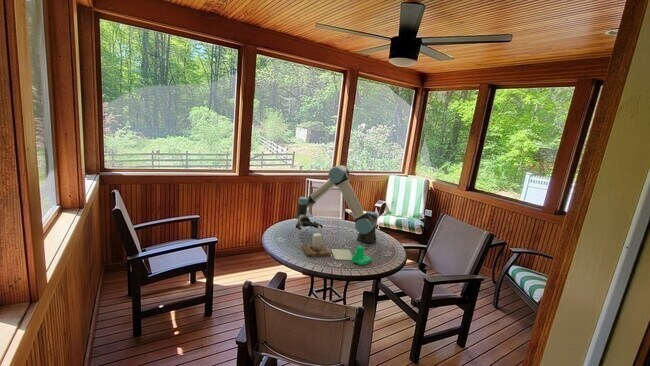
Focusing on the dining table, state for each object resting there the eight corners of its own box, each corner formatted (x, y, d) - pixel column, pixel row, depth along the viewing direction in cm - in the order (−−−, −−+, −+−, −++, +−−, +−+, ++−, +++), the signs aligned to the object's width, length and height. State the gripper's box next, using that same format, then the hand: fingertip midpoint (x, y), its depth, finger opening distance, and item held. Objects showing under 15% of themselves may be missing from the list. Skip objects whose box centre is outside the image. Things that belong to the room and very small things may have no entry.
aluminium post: (317, 249, 209) (319, 233, 206) (320, 252, 204) (322, 236, 202) (310, 250, 207) (312, 233, 205) (313, 253, 202) (315, 236, 200)
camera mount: (360, 266, 190) (362, 251, 188) (351, 262, 195) (353, 247, 194) (371, 262, 199) (373, 247, 197) (362, 257, 204) (364, 243, 202)
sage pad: (349, 250, 213) (349, 249, 213) (354, 260, 198) (354, 259, 198) (331, 249, 211) (331, 249, 211) (335, 259, 196) (335, 259, 196)
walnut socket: (322, 246, 215) (323, 243, 215) (330, 256, 201) (330, 253, 200) (301, 246, 210) (301, 244, 210) (307, 256, 195) (307, 253, 195)
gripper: (319, 225, 238) (328, 235, 218) (288, 225, 230) (294, 235, 210) (320, 216, 237) (329, 225, 217) (289, 215, 228) (295, 225, 209)
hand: (312, 230), depth 214 cm, fingers open, 13 cm apart
